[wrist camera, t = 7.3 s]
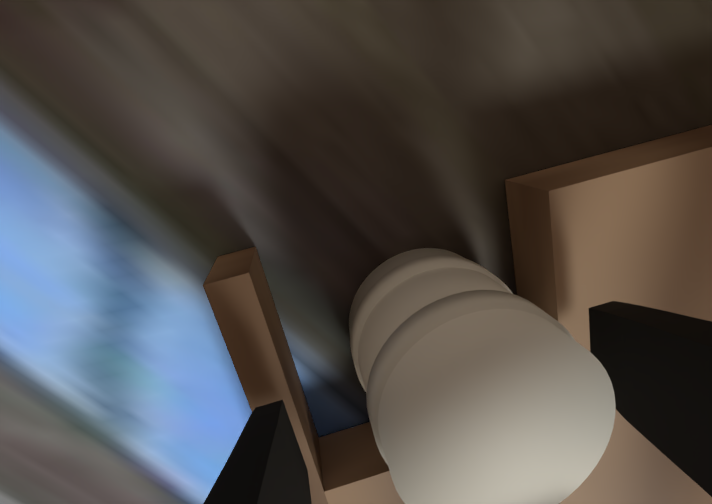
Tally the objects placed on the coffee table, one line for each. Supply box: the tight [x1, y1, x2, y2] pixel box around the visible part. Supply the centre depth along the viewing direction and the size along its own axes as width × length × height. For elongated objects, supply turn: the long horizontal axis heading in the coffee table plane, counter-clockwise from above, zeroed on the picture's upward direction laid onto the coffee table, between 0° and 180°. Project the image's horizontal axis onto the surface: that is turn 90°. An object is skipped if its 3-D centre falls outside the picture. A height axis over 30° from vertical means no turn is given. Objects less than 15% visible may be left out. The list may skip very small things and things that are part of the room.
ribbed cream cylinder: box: [349, 248, 616, 504], centre depth 10 cm, size 5×5×5 cm
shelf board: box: [203, 125, 712, 504], centre depth 13 cm, size 16×14×2 cm
